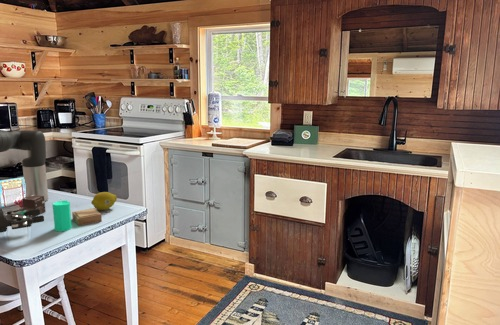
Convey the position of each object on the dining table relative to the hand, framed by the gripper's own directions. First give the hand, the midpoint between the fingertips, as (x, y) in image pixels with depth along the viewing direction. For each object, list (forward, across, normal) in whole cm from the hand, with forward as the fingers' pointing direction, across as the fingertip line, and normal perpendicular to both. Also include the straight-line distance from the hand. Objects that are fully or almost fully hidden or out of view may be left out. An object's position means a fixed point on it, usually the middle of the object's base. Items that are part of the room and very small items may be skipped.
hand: (41, 214), depth 142 cm
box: (+1, +24, +7) cm, 25 cm away
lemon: (+27, +13, +7) cm, 31 cm away
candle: (+7, 0, +7) cm, 10 cm away
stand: (+17, +4, +7) cm, 19 cm away
